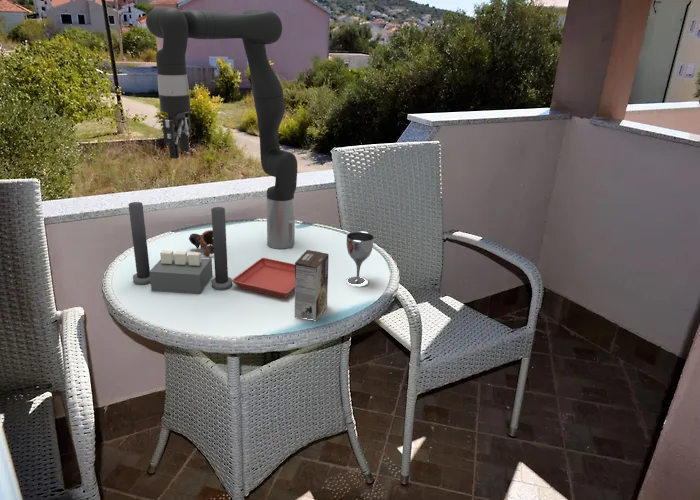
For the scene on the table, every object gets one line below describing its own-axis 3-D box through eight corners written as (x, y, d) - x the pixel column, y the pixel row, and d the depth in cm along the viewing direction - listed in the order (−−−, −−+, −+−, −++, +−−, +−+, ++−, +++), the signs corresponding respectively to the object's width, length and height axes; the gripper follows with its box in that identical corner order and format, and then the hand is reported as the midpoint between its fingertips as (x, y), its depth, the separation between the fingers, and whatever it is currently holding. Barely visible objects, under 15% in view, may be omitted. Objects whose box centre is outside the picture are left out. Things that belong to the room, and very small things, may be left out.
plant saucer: (287, 303, 144) (287, 292, 143) (231, 290, 150) (230, 279, 149) (313, 277, 160) (314, 268, 159) (262, 266, 166) (262, 257, 164)
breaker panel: (212, 275, 157) (211, 256, 155) (200, 293, 146) (199, 274, 144) (167, 272, 157) (165, 253, 155) (151, 290, 146) (149, 270, 144)
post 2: (234, 281, 154) (231, 206, 145) (229, 290, 149) (226, 213, 140) (214, 280, 154) (210, 205, 145) (208, 289, 149) (203, 211, 140)
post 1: (158, 276, 155) (150, 201, 146) (150, 285, 149) (141, 208, 140) (138, 275, 155) (129, 200, 146) (129, 284, 149) (119, 206, 140)
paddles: (202, 262, 150) (201, 252, 149) (200, 265, 148) (199, 255, 147) (162, 260, 150) (161, 250, 149) (160, 263, 148) (159, 252, 147)
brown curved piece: (225, 246, 180) (229, 231, 174) (219, 267, 174) (222, 252, 168) (190, 237, 178) (193, 221, 172) (183, 258, 171) (185, 242, 165)
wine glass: (373, 279, 160) (377, 234, 155) (365, 289, 153) (369, 243, 148) (349, 274, 163) (351, 229, 157) (340, 284, 156) (343, 238, 150)
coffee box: (306, 302, 145) (307, 249, 138) (327, 306, 143) (329, 252, 137) (293, 317, 137) (293, 262, 130) (316, 322, 135) (317, 266, 129)
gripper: (179, 96, 127) (185, 161, 134) (196, 89, 140) (201, 149, 147) (148, 95, 127) (156, 160, 134) (169, 88, 140) (175, 148, 147)
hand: (180, 154), depth 140 cm, fingers open, 8 cm apart
